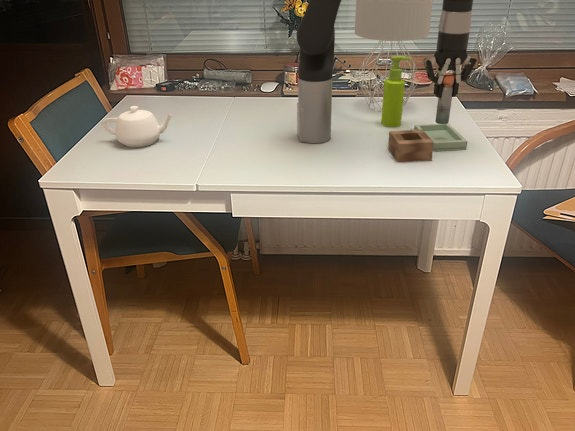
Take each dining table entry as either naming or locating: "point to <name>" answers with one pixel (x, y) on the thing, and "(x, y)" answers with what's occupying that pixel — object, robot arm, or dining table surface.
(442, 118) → the grey and copper cylinder
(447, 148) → the tray
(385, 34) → the table lamp
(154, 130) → the teapot
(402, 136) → the hitch block
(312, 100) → the robot arm
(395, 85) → the soap dispenser
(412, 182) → the dining table surface
